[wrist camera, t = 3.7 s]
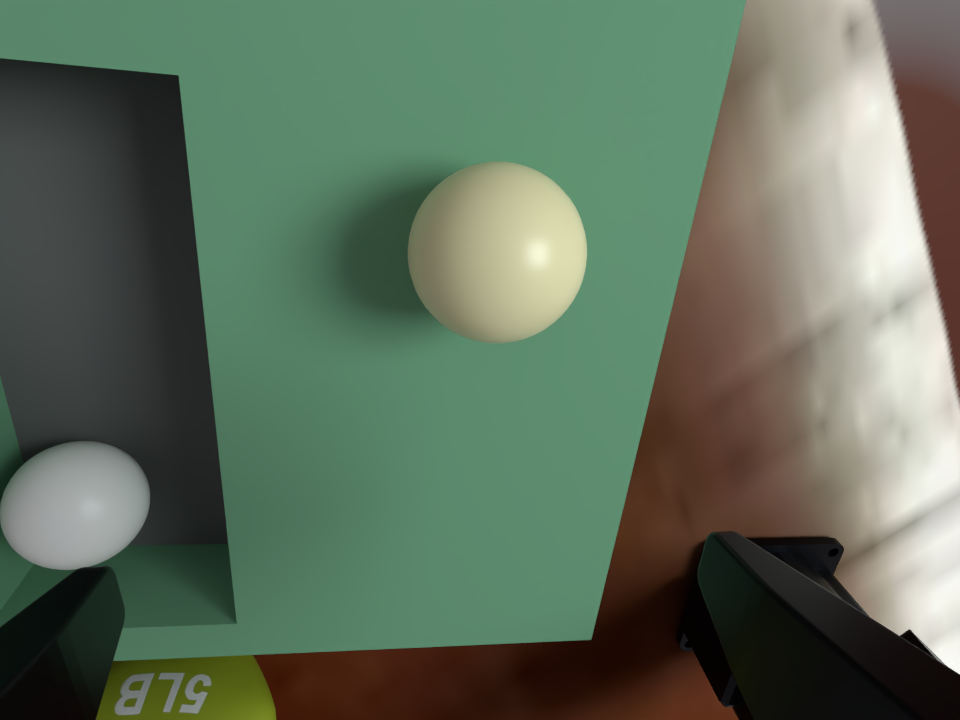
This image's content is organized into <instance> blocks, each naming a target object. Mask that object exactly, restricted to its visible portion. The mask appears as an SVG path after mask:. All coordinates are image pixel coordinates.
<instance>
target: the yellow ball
mask: <svg viewBox="0 0 960 720" xmlns="http://www.w3.org/2000/svg"><path fill="white" fill-rule="evenodd" d="M586 260H587V242H586V235H585V231H584V228H583V224H582V221H581V218H580V216H579V213H578V211H577V209H576V207H575V206H574V204H573V203H572V201H571V199H570V198H569V197H568V196H567V194H566V193H565V192H564V191H563V190H562V189H561V188H560V186H558V185H557V184H556V183H555V182H554V181H553V180H551V179H550V178H549V177H547V176H545V175H544V174H542V173H541V172H539V171H536V170H534V169H532V168H530V167H527V166H524V165H520V164H517V163H511V162H497V161H493V162H485V163H479V164H475V165H471V166H468V167H466V168H464V169H461V170H459V171H457V172H455V173H453V174H452V175H450V176H448V177H447V178H446V179H444V180H443V181H442V182H441V183H439V184H438V185H437V186H436V187H435V188H434V189H433V190H432V191H431V192H430V193H429V195H428V196H427V197H426V199H425V200H424V201H423V203H422V204H421V206H420V208H419V210H418V211H417V213H416V216H415V218H414V221H413V223H412V227H411V231H410V235H409V242H408V265H409V271H410V275H411V278H412V281H413V285H414V288H415V290H416V292H417V294H418V296H419V298H420V300H421V301H422V303H423V304H424V306H425V307H426V308H427V310H428V311H429V312H430V313H431V314H432V315H433V317H434V318H435V319H437V320H438V321H439V322H440V323H441V324H442V325H444V326H445V327H446V328H448V329H449V330H451V331H453V332H455V333H457V334H459V335H460V336H463V337H465V338H468V339H471V340H474V341H479V342H483V343H509V342H515V341H519V340H523V339H526V338H528V337H531V336H533V335H536V334H537V333H539V332H541V331H543V330H545V329H546V328H547V327H549V326H550V325H552V324H553V323H554V322H555V321H556V320H557V319H559V318H560V317H561V316H562V315H563V313H564V312H565V311H566V310H567V309H568V308H569V306H570V305H571V303H572V302H573V300H574V299H575V297H576V295H577V293H578V291H579V289H580V286H581V283H582V281H583V277H584V273H585V269H586Z"/></svg>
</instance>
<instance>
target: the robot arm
mask: <svg viewBox="0 0 960 720" xmlns="http://www.w3.org/2000/svg"><path fill="white" fill-rule="evenodd" d="M843 551H844V548H843V546H842V545H841V544H840V543H839V542H838V541H837V540H836V539H835V538H794V539H747V538H745V537H743V536H742V535H740V534H738V533H737V532H733V531H724V532H713V533H710V534H709V535H708V537H707V539H706V542H705V545H704V549H703V553H702V556H701V560H700V563H699V567H698V572H697V576H696V579H695V582H694V585H693V587H692V589H691V593H690V596H689V599H688V602H687V605H686V608H685V611H684V614H683V617H682V620H681V623H680V628H679V631H678V634H677V637H676V641H677V643H678V645H679V647H680V649H681V650H683V651H694V653H695V655H696V657H697V659H698V661H699V663H700V665H701V667H702V669H703V671H704V672H705V674H706V676H707V678H708V680H709V682H710V684H711V686H712V688H713V690H714V692H715V694H716V696H717V698H718V700H719V701H720V702H721V703H722V704H723V706H725V707H732V708H733V710H734V711H735V713H736V715H737V717H738V719H739V720H960V674H958V673H956V672H955V671H953V670H952V669H950V668H949V667H947V666H946V665H945V664H944V663H943V662H942V661H941V660H940V659H939V658H938V657H937V656H936V655H935V654H934V653H933V652H932V651H931V650H930V649H929V648H928V647H927V646H926V645H925V644H924V643H923V642H922V641H921V640H920V639H919V638H918V637H917V636H916V635H915V634H914V633H913V632H912V631H911V630H910V629H909V630H908V631H906V632H905V633H903V634H902V635H900V636H899V635H897V634H895V633H894V632H892V631H891V630H889V629H888V628H886V627H884V626H883V625H881V624H880V623H878V622H877V621H875V620H873V619H872V618H870V617H869V616H868V615H867V613H866V612H865V611H864V610H863V609H862V608H861V607H860V605H859V604H858V603H857V602H856V601H855V600H854V598H853V597H852V596H851V595H850V594H849V593H848V592H847V590H846V589H845V588H844V587H843V586H842V585H841V583H840V582H839V581H838V580H837V579H836V578H835V577H834V575H833V574H834V572H835V569H836V567H837V565H838V563H839V561H840V558H841V556H842V554H843ZM124 620H125V606H124V602H123V599H122V595H121V591H120V588H119V584H118V581H117V577H116V574H115V571H114V570H113V569H112V568H111V567H109V566H93V567H82V568H79V569H77V570H75V571H73V572H72V573H71V574H69V575H68V576H67V577H65V578H64V579H63V580H61V581H60V582H59V583H57V584H56V585H55V586H53V587H52V588H51V589H49V590H48V591H47V592H45V593H44V594H43V595H41V596H40V597H39V598H37V599H36V600H35V601H33V602H32V603H31V604H30V605H28V606H27V607H26V608H24V609H23V610H22V611H20V612H19V613H18V614H16V615H15V616H14V617H12V618H11V619H10V620H8V621H7V622H6V623H4V624H3V625H2V626H0V720H96V717H97V714H98V711H99V707H100V704H101V701H102V697H103V694H104V690H105V687H106V683H107V680H108V677H109V673H110V670H111V666H112V663H113V660H114V656H115V653H116V649H117V646H118V643H119V639H120V636H121V632H122V629H123V625H124Z"/></svg>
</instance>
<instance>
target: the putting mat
mask: <svg viewBox="0 0 960 720" xmlns="http://www.w3.org/2000/svg"><path fill="white" fill-rule="evenodd" d="M745 3H746V0H0V503H1V500H2V496H3V493H4V490H5V488H6V486H7V485H8V483H9V481H10V479H11V478H12V477H13V475H14V474H15V473H16V472H17V470H18V469H19V468H20V467H21V466H22V465H23V464H24V463H26V462H27V461H28V460H29V459H31V458H32V457H34V456H35V455H37V454H38V453H40V452H42V451H44V450H46V449H48V448H51V447H53V446H56V445H59V444H63V443H68V442H74V441H95V442H101V443H105V444H109V445H112V446H115V447H117V448H119V449H121V450H123V451H124V452H126V453H127V454H129V455H130V456H131V457H132V458H133V459H135V461H136V462H137V463H138V464H139V465H140V467H141V468H142V470H143V471H144V473H145V475H146V477H147V480H148V483H149V488H150V507H149V511H148V515H147V518H146V520H145V522H144V524H143V526H142V528H141V530H140V531H139V533H138V534H137V535H136V537H135V538H134V539H133V540H132V541H131V542H130V543H129V544H128V545H127V546H126V547H125V548H124V549H123V550H122V551H120V552H119V553H117V554H116V555H115V556H113V557H111V558H109V559H108V560H106V561H103V562H101V563H99V564H96V565H93V566H109V567H111V568H112V569H113V570H114V571H115V574H116V577H117V581H118V584H119V588H120V591H121V595H122V599H123V602H124V606H125V620H124V625H123V629H122V632H121V636H120V639H119V643H118V646H117V649H116V653H115V656H114V660H113V661H126V660H149V659H171V658H194V657H216V656H239V655H261V654H284V653H306V652H329V651H351V650H374V649H396V648H419V647H441V646H464V645H486V644H509V643H531V642H554V641H576V640H591V639H592V635H593V631H594V627H595V623H596V619H597V614H598V610H599V606H600V602H601V598H602V594H603V590H604V585H605V581H606V577H607V573H608V569H609V565H610V561H611V557H612V552H613V548H614V544H615V540H616V536H617V532H618V528H619V524H620V519H621V515H622V511H623V507H624V503H625V499H626V495H627V490H628V486H629V482H630V478H631V474H632V470H633V466H634V462H635V457H636V453H637V449H638V445H639V441H640V437H641V433H642V429H643V424H644V420H645V416H646V412H647V408H648V404H649V400H650V395H651V391H652V387H653V383H654V379H655V375H656V371H657V367H658V362H659V358H660V354H661V350H662V346H663V342H664V338H665V334H666V329H667V325H668V321H669V317H670V313H671V309H672V305H673V300H674V296H675V292H676V288H677V284H678V280H679V276H680V272H681V267H682V263H683V259H684V255H685V251H686V247H687V243H688V239H689V234H690V230H691V226H692V222H693V218H694V214H695V210H696V205H697V201H698V197H699V193H700V189H701V185H702V181H703V177H704V172H705V168H706V164H707V160H708V156H709V152H710V148H711V144H712V139H713V135H714V131H715V127H716V123H717V119H718V115H719V110H720V106H721V102H722V98H723V94H724V90H725V86H726V82H727V77H728V73H729V69H730V65H731V61H732V57H733V53H734V49H735V44H736V40H737V36H738V32H739V28H740V24H741V20H742V15H743V11H744V7H745ZM493 161H497V162H511V163H517V164H520V165H524V166H527V167H530V168H532V169H534V170H536V171H539V172H541V173H542V174H544V175H545V176H547V177H549V178H550V179H551V180H553V181H554V182H555V183H556V184H557V185H558V186H560V188H561V189H562V190H563V191H564V192H565V193H566V194H567V196H568V197H569V198H570V199H571V201H572V203H573V204H574V206H575V207H576V209H577V211H578V213H579V216H580V218H581V221H582V224H583V228H584V231H585V235H586V242H587V260H586V269H585V273H584V277H583V281H582V283H581V286H580V289H579V291H578V293H577V295H576V297H575V299H574V300H573V302H572V303H571V305H570V306H569V308H568V309H567V310H566V311H565V312H564V313H563V315H562V316H561V317H560V318H559V319H557V320H556V321H555V322H554V323H553V324H552V325H550V326H549V327H547V328H546V329H545V330H543V331H541V332H539V333H537V334H536V335H533V336H531V337H528V338H526V339H523V340H519V341H515V342H509V343H483V342H479V341H474V340H471V339H468V338H465V337H463V336H460V335H459V334H457V333H455V332H453V331H451V330H449V329H448V328H446V327H445V326H444V325H442V324H441V323H440V322H439V321H438V320H437V319H435V318H434V317H433V315H432V314H431V313H430V312H429V311H428V310H427V308H426V307H425V306H424V304H423V303H422V301H421V300H420V298H419V296H418V294H417V292H416V290H415V288H414V285H413V281H412V278H411V275H410V271H409V265H408V242H409V235H410V231H411V227H412V223H413V221H414V218H415V216H416V213H417V211H418V210H419V208H420V206H421V204H422V203H423V201H424V200H425V199H426V197H427V196H428V195H429V193H430V192H431V191H432V190H433V189H434V188H435V187H436V186H437V185H438V184H439V183H441V182H442V181H443V180H444V179H446V178H447V177H448V176H450V175H452V174H453V173H455V172H457V171H459V170H461V169H464V168H466V167H468V166H471V165H475V164H479V163H485V162H493ZM93 566H90V567H93ZM75 570H77V569H73V570H57V569H50V568H45V567H42V566H39V565H36V564H34V563H32V562H30V561H28V560H26V559H25V558H23V557H22V556H20V555H19V554H18V553H17V552H16V551H15V550H14V549H13V548H12V547H11V546H10V544H9V543H8V541H7V540H6V538H5V536H4V534H3V531H2V528H1V523H0V626H2V625H3V624H4V623H6V622H7V621H8V620H10V619H11V618H12V617H14V616H15V615H16V614H18V613H19V612H20V611H22V610H23V609H24V608H26V607H27V606H28V605H30V604H31V603H32V602H33V601H35V600H36V599H37V598H39V597H40V596H41V595H43V594H44V593H45V592H47V591H48V590H49V589H51V588H52V587H53V586H55V585H56V584H57V583H59V582H60V581H61V580H63V579H64V578H65V577H67V576H68V575H69V574H71V573H72V572H73V571H75Z"/></svg>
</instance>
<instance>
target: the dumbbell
mask: <svg viewBox="0 0 960 720" xmlns="http://www.w3.org/2000/svg"><path fill="white" fill-rule="evenodd" d="M96 720H276V709H275V706H274V702H273V699H272V695H271V693H270V690H269V687H268V685H267V682H266V680H265V678H264V676H263V673H262V671H261V669H260V667H259V665H258V663H257V661H256V659H255V657H254V656H253V655H239V656H216V657H194V658H171V659H149V660H126V661H113V663H112V666H111V670H110V673H109V677H108V680H107V683H106V687H105V690H104V694H103V697H102V701H101V704H100V707H99V711H98V714H97V717H96Z"/></svg>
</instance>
